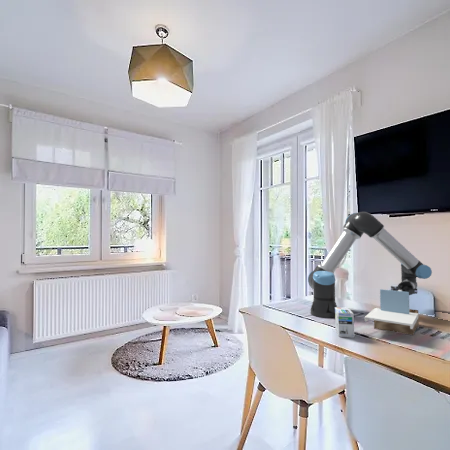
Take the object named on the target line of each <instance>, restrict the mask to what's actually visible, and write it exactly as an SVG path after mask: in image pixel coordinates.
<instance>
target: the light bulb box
mask: <svg viewBox="0 0 450 450" xmlns="http://www.w3.org/2000/svg"><path fill="white" fill-rule="evenodd" d="M334 318H335V321H334V322H335V327H334V328H335V332H336V333H337V336H338V337H339V338H351V339H355V314H354V312H353V310H351V309H350V307H339V306H337V307H335V317H334Z"/></svg>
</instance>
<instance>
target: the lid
mask: <svg viewBox="0 0 450 450" xmlns="http://www.w3.org/2000/svg"><path fill="white" fill-rule="evenodd" d="M379 294H380V296H379V298H380V300H379V301H380V307H375V308H373V309H372V310H370V311H369V312H368V313H367V314H366V315H365V316H364V322H365V323H366V322H368V321H369V320H370V321H374V320H376V321H382V322H389V323H395V324H401V325H408V326H410V329H413V327H414V325H415V323H416V321H417V320H419V312H418V313H411V312H409V309H410V295H409V292H403V291H393V290H391V289H382V288H381V289H379Z"/></svg>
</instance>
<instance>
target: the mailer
mask: <svg viewBox="0 0 450 450" xmlns="http://www.w3.org/2000/svg"><path fill="white" fill-rule="evenodd" d="M409 312H411V313H418V314H419V309H418V310H417V309H412V308H409ZM419 324H420V323H419V319H418V320H417V321H416V323H415V325H414V327H413V329H410V326H408V325H401V324H395V323H389V322H382V321H376V320H373V328H374V329H376V330H381V331H386V332H392V333H398V334H402V335H403V334H405V335H410V336H414V335H415V332H416V331H417V329H418V326H419Z"/></svg>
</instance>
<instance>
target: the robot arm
mask: <svg viewBox="0 0 450 450" xmlns="http://www.w3.org/2000/svg"><path fill="white" fill-rule="evenodd" d="M341 229H342V233H341V234H340V235H339V237H338V238H337V240H336V242H335V243H334V244H333V246H332V247H331V250H329V252H328V253H327V255H326V256H325V258H324V259H323V261H322V262H321V264H317V266H316V267H315V268H314V270H312V271H310V273H309V274H308V276H307V282H308V286H309V287H310V288H311V289H312V290H313V294H312V295H313V300H312V304H311V307H310V309H309V311H310V315H312V316H314V317H318V318H325V319H326V318H327V319H329V318H335V307H338V305H337V302H336V275H335V271H336V270H337V268H338V266H339V265H340V264H341V262H342V261H343V259H344V258H345V257H346V255H347V253H348V252H349V251H350V250H351V248H352V246H353V245H354V244H355V241H356V240H358V239H361V237H362V236H363V234H366V235H367V236H368V237H369V238H371V239H374V240H375V241H377V242H378V244H380V245H381V246H382V247H383V248H384V249H385V250H386V251H387V252H388V253H389V254H390V255H391V256H393V257H394V258H395V259H396V260H397V261H398V262H399V263H400V271H401V272H400V273H401V279H400V280H401V282H400V283H398V285H397V286H393V285H391V286H390V290H393V291H403V292H409V296H411V295H415V294H418V282H417V278H418V279H424V280H425V279H428V278H429V279H430V277H431V276H432V273H433V272H432V268H431V267H430V266H429V265H427V264H424V263H422V262H421V261H420V260H419V259H418V258H417V257H416V256H415V255H414V254H413V253H412V252H410V251H409V250H408V248H406V247H405V246H404V245H403V244H401V242H400V241H398V240H397V239H396V238H395V237H394V236H393V235H392V234H391V233H390V232H388V231H387V230H386V229H385V225H384V224H383V223H382V222H381V221H379V220H378V218H376V217H375V216H374V215H373V214H371V213H369V212H367V211H359V212H354V213H351V214H349V215H348V216H347V218H346V219H345V223H344V225H343V227H342V228H341Z"/></svg>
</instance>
